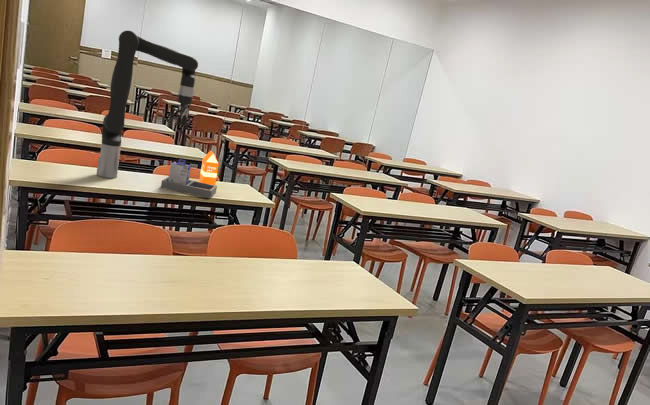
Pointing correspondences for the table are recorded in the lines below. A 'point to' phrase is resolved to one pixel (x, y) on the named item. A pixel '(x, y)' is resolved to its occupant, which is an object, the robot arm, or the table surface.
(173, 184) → the grey divided tray
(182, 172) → the ink cartridge box
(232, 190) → the table surface
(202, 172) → the orange juice
